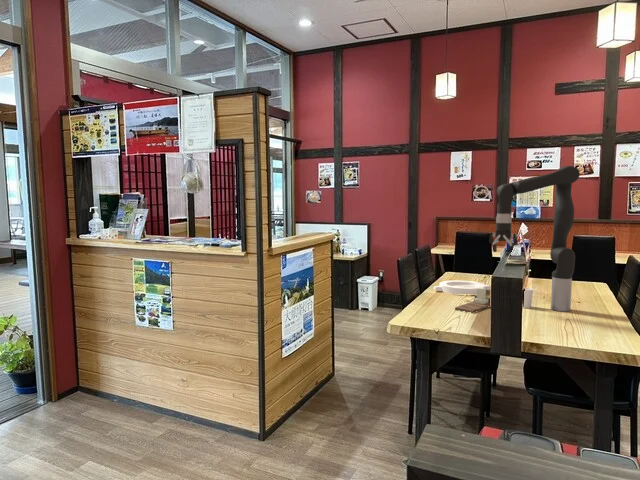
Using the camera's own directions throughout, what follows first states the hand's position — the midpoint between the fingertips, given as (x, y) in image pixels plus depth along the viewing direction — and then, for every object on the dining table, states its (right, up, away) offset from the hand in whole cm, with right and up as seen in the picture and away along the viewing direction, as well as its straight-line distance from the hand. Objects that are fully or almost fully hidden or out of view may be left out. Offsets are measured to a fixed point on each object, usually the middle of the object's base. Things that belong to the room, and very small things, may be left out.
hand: (502, 252), depth 237 cm
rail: (-14, -30, +3) cm, 33 cm away
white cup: (+14, -30, +5) cm, 33 cm away
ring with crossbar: (-7, -27, +47) cm, 55 cm away
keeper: (-9, -28, +8) cm, 30 cm away
